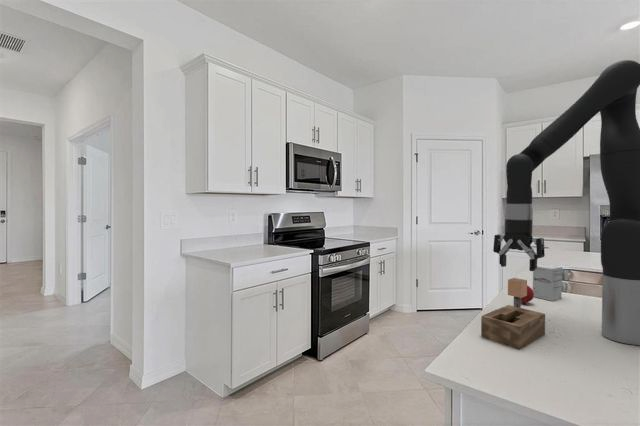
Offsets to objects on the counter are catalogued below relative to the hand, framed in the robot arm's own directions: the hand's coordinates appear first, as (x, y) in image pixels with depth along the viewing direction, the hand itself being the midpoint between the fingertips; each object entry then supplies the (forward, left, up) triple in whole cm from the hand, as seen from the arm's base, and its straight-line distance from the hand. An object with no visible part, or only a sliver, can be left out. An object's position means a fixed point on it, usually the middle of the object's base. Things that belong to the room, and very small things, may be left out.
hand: (517, 268), depth 105 cm
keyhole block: (-5, +14, -17) cm, 22 cm away
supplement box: (+4, -35, -17) cm, 39 cm away
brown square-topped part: (0, 0, -17) cm, 17 cm away
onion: (+6, -20, -17) cm, 27 cm away
